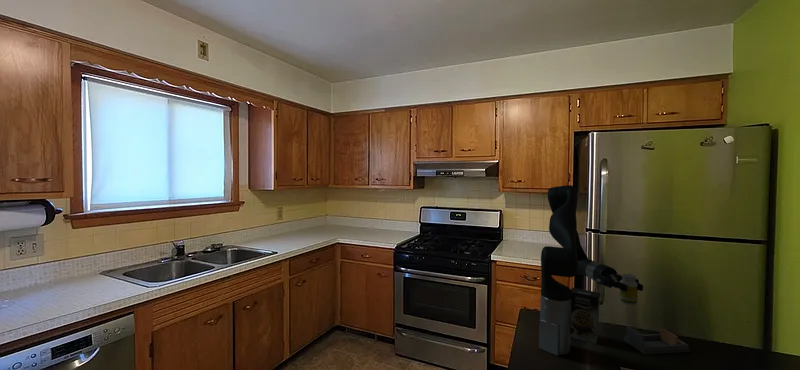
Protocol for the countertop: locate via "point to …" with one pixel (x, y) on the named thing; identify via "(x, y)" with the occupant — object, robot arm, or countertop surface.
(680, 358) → the countertop surface
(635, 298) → the supplement bottle
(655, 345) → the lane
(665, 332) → the pusher
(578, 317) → the coffee box
